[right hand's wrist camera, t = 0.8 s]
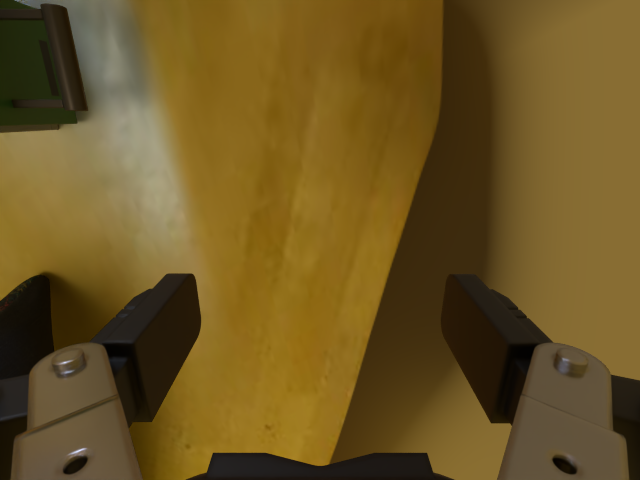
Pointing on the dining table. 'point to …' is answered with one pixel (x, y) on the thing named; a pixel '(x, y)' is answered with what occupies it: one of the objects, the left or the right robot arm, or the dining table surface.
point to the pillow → (25, 327)
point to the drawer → (38, 66)
